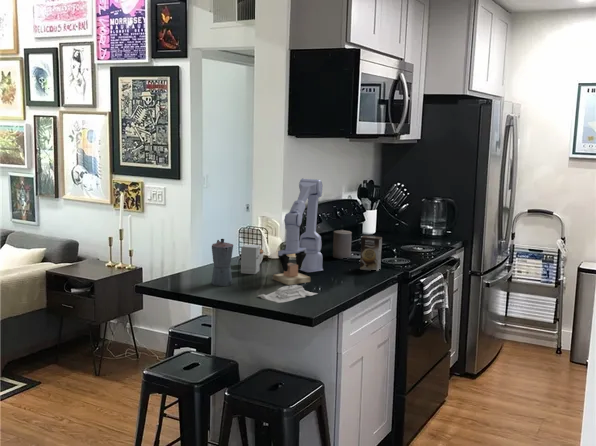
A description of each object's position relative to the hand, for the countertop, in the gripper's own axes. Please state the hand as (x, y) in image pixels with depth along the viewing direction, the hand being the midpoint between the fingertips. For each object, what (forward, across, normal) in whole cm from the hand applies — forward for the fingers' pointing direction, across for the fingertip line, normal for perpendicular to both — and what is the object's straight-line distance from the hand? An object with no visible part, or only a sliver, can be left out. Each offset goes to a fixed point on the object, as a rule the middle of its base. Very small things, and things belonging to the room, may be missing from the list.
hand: (291, 269), depth 276 cm
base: (+5, 0, 0) cm, 5 cm away
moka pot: (+5, +29, -12) cm, 32 cm away
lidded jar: (+5, -3, -35) cm, 35 cm away
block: (+3, 0, -1) cm, 3 cm away
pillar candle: (+5, -55, -27) cm, 62 cm away
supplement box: (+5, +6, -24) cm, 25 cm away
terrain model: (+6, +17, +19) cm, 26 cm away
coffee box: (+5, -47, +3) cm, 47 cm away
